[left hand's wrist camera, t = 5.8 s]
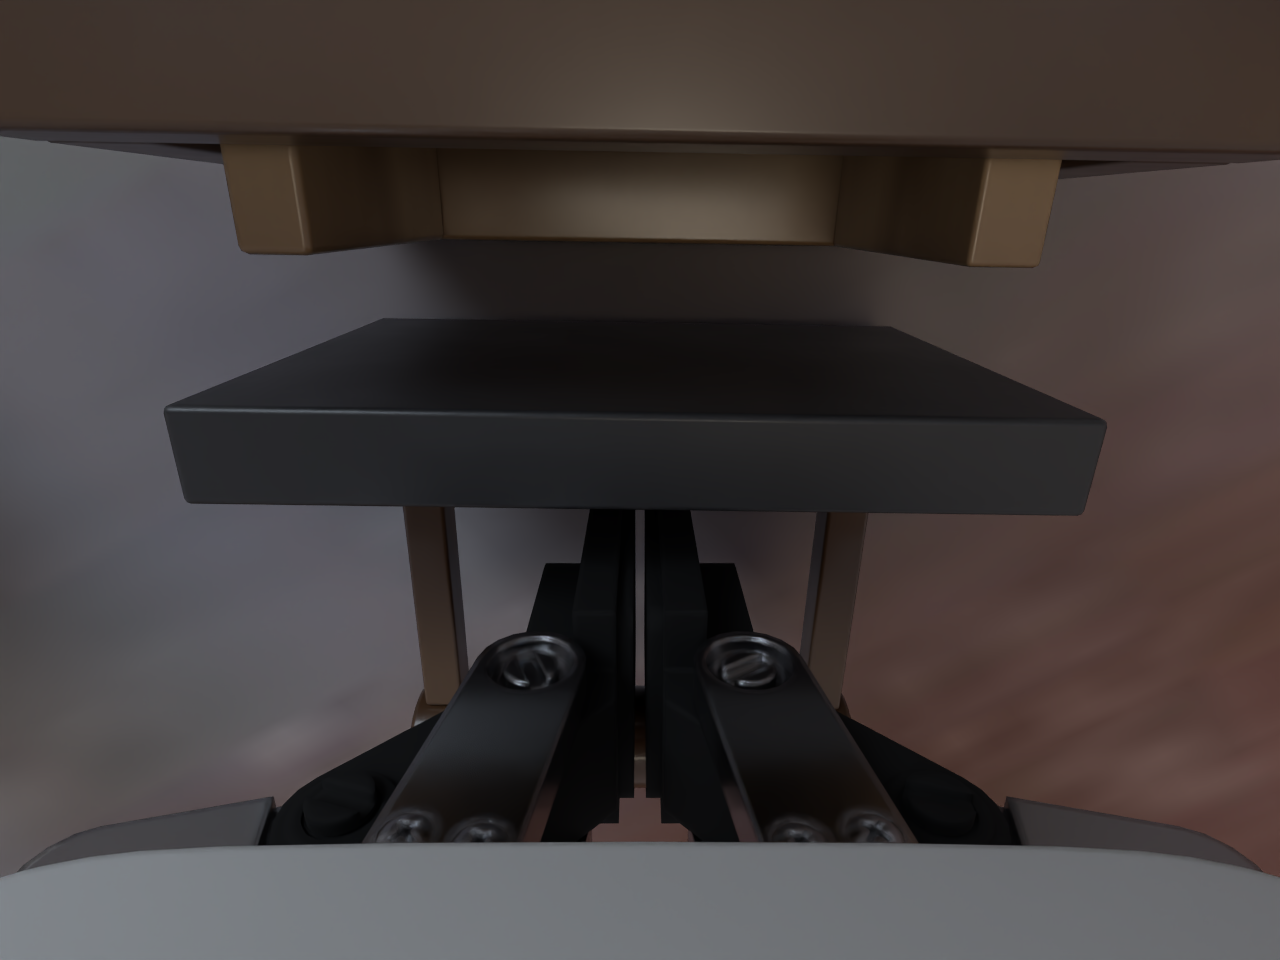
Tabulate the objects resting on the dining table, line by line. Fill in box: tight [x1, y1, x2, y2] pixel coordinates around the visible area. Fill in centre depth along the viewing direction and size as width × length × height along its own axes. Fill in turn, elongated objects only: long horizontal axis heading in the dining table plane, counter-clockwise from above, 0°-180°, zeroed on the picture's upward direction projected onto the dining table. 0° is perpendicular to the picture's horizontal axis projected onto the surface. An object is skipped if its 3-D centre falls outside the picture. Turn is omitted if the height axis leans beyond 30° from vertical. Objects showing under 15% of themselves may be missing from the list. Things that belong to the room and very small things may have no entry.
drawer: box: [164, 144, 1107, 788], centre depth 9 cm, size 22×11×7 cm, turn 179°
